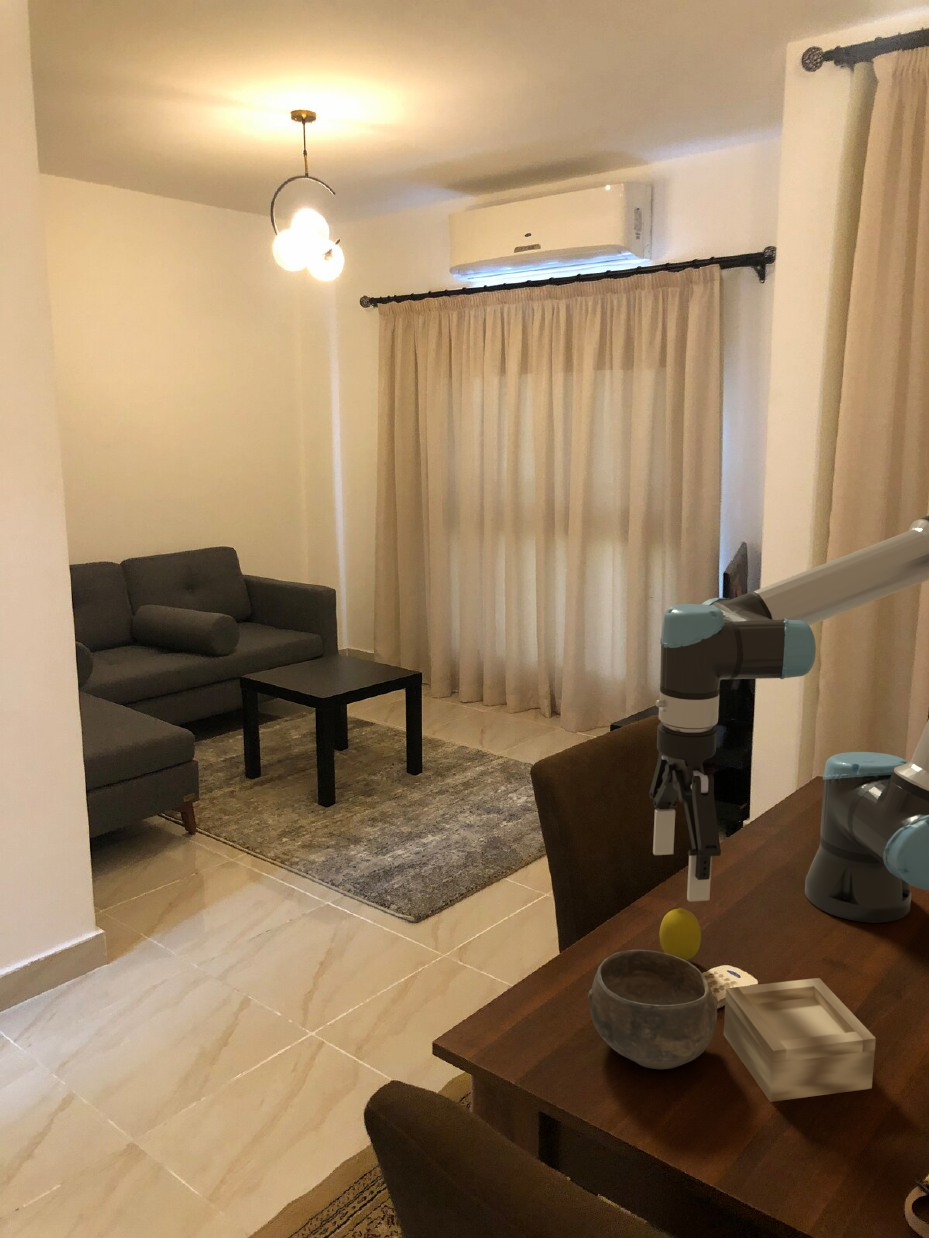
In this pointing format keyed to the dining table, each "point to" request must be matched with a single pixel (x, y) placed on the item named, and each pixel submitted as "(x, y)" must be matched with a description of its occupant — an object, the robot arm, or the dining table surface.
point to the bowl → (653, 1008)
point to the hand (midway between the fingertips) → (679, 875)
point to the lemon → (680, 934)
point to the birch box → (798, 1039)
